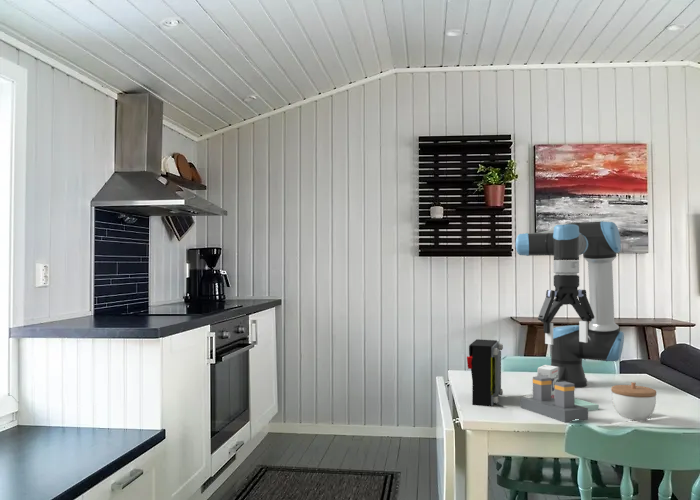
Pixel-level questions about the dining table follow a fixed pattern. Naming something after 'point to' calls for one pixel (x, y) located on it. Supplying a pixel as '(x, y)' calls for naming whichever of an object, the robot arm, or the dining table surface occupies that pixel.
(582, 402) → the tray
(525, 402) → the pdu strip
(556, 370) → the ink box
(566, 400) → the plug
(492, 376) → the electrical component
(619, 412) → the lidded bowl
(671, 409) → the dining table surface
